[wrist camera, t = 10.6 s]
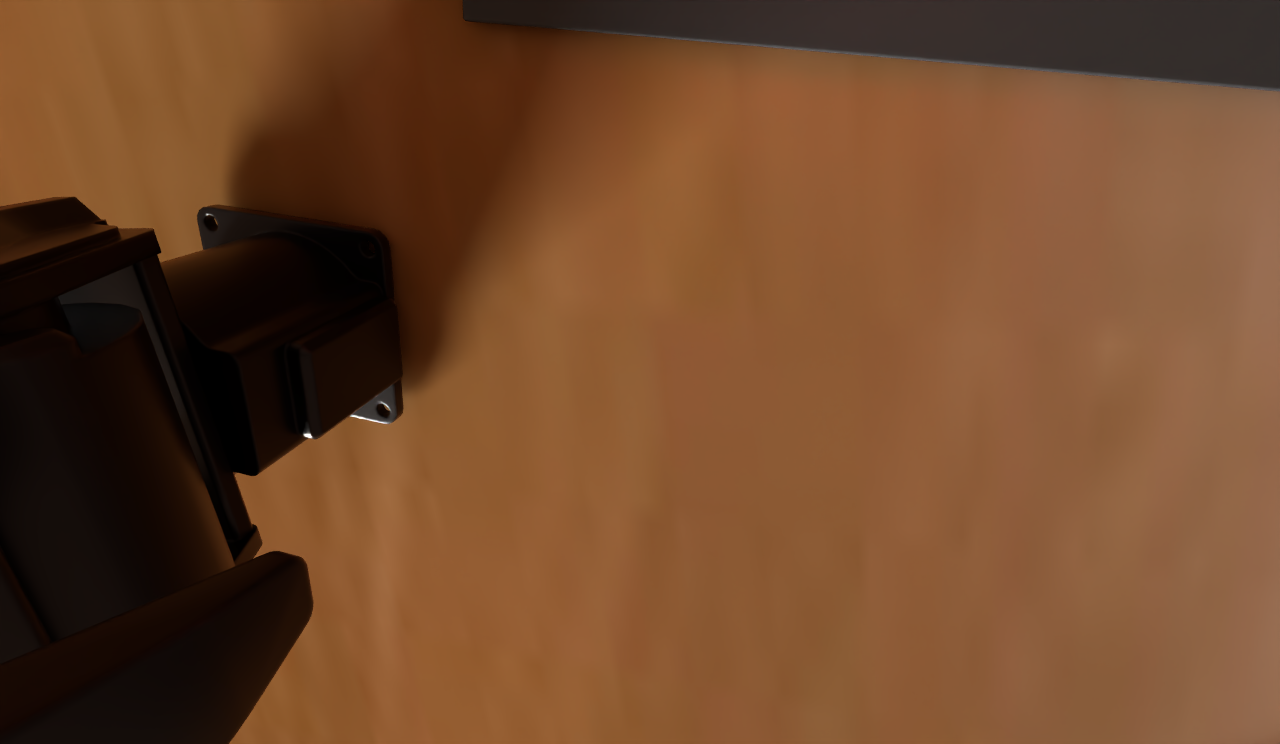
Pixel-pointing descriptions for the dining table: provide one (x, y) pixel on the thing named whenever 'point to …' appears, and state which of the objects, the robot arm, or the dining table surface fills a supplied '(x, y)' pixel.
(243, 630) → the robot arm
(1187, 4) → the placemat
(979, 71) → the dining table surface
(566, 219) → the dining table surface
